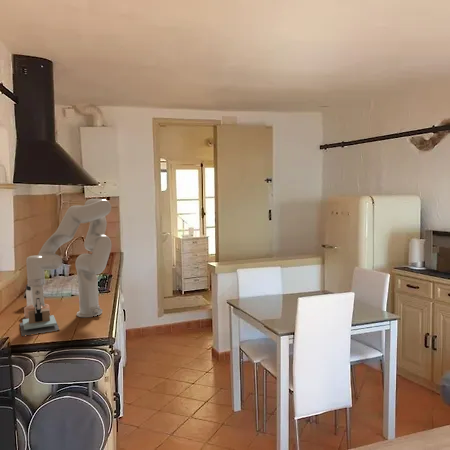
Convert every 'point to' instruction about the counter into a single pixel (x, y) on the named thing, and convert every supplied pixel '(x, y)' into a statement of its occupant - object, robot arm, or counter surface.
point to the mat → (38, 330)
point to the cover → (47, 321)
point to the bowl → (31, 308)
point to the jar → (28, 295)
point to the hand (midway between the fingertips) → (38, 319)
